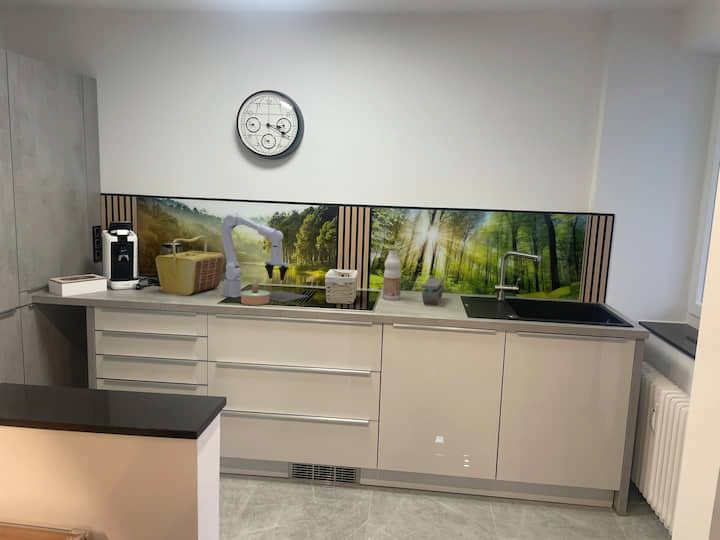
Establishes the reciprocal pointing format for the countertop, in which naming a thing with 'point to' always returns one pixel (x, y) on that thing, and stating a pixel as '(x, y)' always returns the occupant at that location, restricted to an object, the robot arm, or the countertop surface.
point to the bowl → (254, 300)
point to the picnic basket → (189, 270)
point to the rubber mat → (284, 296)
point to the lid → (255, 291)
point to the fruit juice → (392, 276)
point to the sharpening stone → (432, 291)
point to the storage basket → (341, 286)
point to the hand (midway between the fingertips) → (276, 279)
